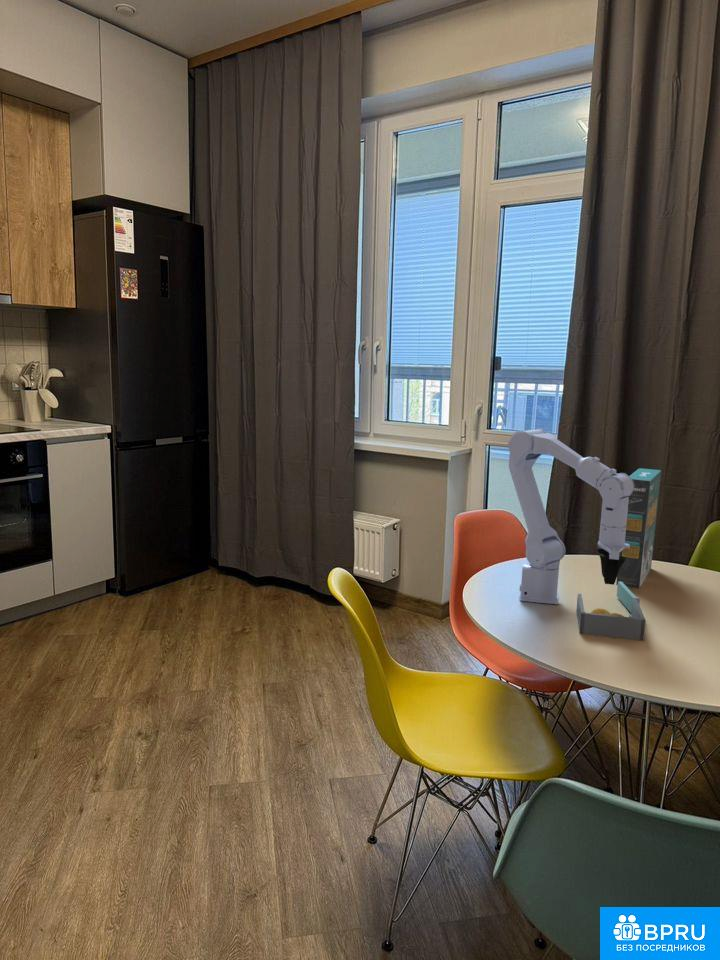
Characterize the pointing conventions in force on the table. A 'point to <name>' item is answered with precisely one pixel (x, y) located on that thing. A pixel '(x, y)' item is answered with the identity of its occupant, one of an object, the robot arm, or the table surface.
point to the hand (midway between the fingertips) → (608, 580)
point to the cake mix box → (640, 528)
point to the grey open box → (611, 623)
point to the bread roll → (604, 612)
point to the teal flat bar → (626, 596)
